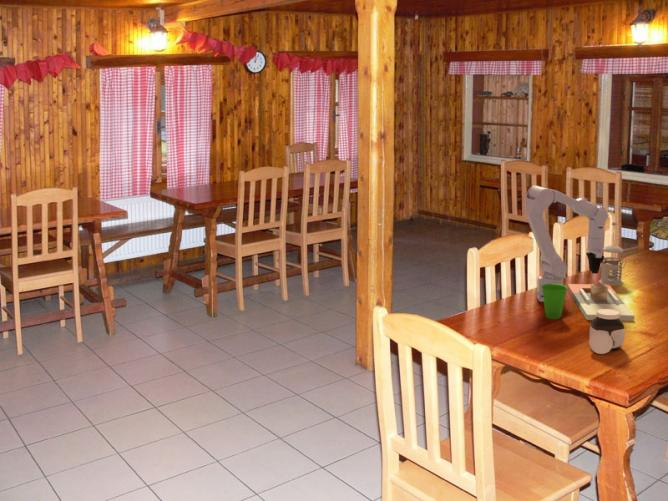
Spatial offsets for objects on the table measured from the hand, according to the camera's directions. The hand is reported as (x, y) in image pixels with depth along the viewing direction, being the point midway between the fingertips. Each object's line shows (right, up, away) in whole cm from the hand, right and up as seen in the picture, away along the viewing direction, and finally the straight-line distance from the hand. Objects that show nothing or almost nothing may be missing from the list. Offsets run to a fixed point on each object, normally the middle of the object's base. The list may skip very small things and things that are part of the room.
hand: (594, 272), depth 319 cm
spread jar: (-15, -23, -58) cm, 64 cm away
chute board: (-1, -12, -9) cm, 14 cm away
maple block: (-1, -10, -9) cm, 13 cm away
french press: (+14, -5, +22) cm, 27 cm away
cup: (-22, -15, -24) cm, 36 cm away
